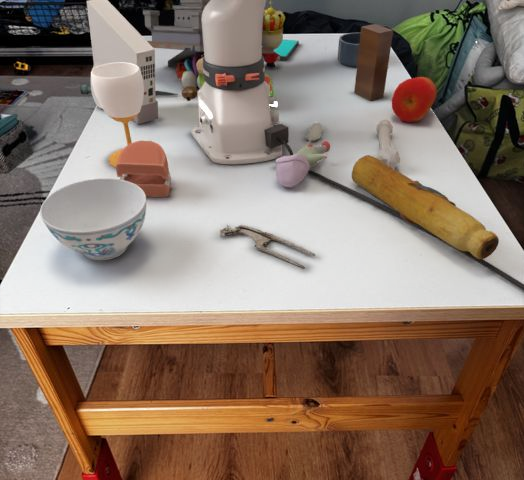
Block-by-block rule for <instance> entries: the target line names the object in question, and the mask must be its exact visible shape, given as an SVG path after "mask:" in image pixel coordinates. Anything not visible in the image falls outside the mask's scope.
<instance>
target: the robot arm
mask: <svg viewBox="0 0 524 480" xmlns="http://www.w3.org/2000/svg"><path fill="white" fill-rule="evenodd" d="M266 4H267V0H211V1H209V2H208V4H207V5H206V6H205V8H204V10H203V13H202V18H201V20H202V33H203V45H204V55H203V57H202V58H203V65H202V69H203V75H204V80H205V82H204V84H203V86H202V87H201V88H199V89H198V90H199V91H198V90H197V91H198V95H197V105H198V107H197V108H198V120H199V121H198V122H199V125H196V126H195V127H193V128H191V136H192V137H193V139H194V140H195V141H196V142H197V144H198V145H199V147H201V149H202V150H203V152H204V153H205V154H206V155H207V157H208V158H209V159H210V161H211V162H213V163H215V164H220V165H246V164H255V163H262V162H268V161H272V160H276V159H277V158H280V157H283V146H284V147H285V149H286V150H287V152H288V156H291V155H294V152H293V150H292V148H291V146H290V145H289V144H288V143H289V141H290V140H289V136H290V127H289V126H287V125H285V124H283V123H281V122H280V116H279V115H280V112H279V110H278V109H271V107H275V108H277V107H278V101H275V96H274V97H270V85H269V84H268V83H266V82H265V81H264V80H265V73H266V63H265V58H264V57H263V56H262V24H263V14H264V10H265V7H266ZM307 175H310V176H312V177H315V178H318V179H319V180H321V181H323V182H326V183H327V184H329V185H332V186H334V187H336V188H338V189H341V190H342V191H345V192H346V193H348V194H350V195H353V196H355V197H356V198H359V199H361V200H363V201H365V202H367V203H369V204H371V205H373V206H374V207H377V208H379V209H381V210H384V212H387V213H388V214H390V215H392V216H394V217H396V218H398V219H400V220H402V221H404V220H403V219H402V217H401V216H400V212H399V211H397V210H396V209H394V208H392V207H390V206H386V205H385V204H382V203H381V202H379V201H377V200H374V199H373V198H371V197H369V196H366V195H364V194H362V193H360V192H359V191H357V190H354V189H352V188H350V187H348V186H346V185H343V184H342V183H339V182H337V181H335V180H333V179H330V178H329V177H327V176H324V175H323V174H320V173H318V172H316V171H313V170H310V169H309V171H308V173H307ZM413 225H414V226H413ZM413 225H412V226H413V227H416V229H419V230H421V231H423V232H425V233H426V234H428V235H430V236H432V237H433V238H436V239H437V240H439V241H441V242H442V243H444V244H447V246H449V247H451V248H453V249H455V250H456V251H457V252H460V253H462V254H463V255H465V256H466V257H468V258H470V259H471V260H472V261H475V262H477V263H478V264H480V265H481V266H483V267H485V268H487V269H488V270H490V271H492V272H493V273H494V274H496V275H498V276H500V277H501V278H503V279H505V280H506V281H508V282H509V283H511V284H513V285H514V286H515V287H517V288H519V290H522V291H524V283H522V281H519V280H518V279H516V278H515V277H513V276H512V275H509V274H508V273H506V271H503V270H502V269H500V268H498V267H496V266H495V265H493V264H491V263H490V262H488V261H487V260H485V259H478V258H476V257H474V256H473V255H472V254H471V253H470V252H469V251H461V250H459V249H457V248H455V247H453V246H451V245H450V244H448V243H447V242H445V241H444V240H442V239H440V238H439V237H437V236H436V235H434V234H433V233H431V232H430V231H428V230H426V229H425V228H423V227H422V226H420V225H419V224H417V223H414V224H413Z"/></svg>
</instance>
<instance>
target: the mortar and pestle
mask: <svg viewBox="0 0 524 480" xmlns="http://www.w3.org/2000/svg"><path fill="white" fill-rule="evenodd" d="M198 91H199V89H197V87H196V88H195V87H194V86H187V87H183V88H182V89H181V91H180V93H181V96H182V98H183V99H185V100H186V101H187V102H191V100H194V99H195V98H198Z"/></svg>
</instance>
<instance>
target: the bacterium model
mask: <svg viewBox="0 0 524 480" xmlns="http://www.w3.org/2000/svg"><path fill="white" fill-rule="evenodd" d="M324 128H326V126H324V124H323V125H322V124H321V123H319V122H315V123H312V124H311V125H309V126H308V130H307V129H304V132H301V133H300V134H303V135H305V139H307V140H308V141H307V143H306V145H305V147H306V146H307V145H308V144H311V142H315V141H317V140H319V139H320V138H321V137H324V136H325V135H324V134H323V132H324Z"/></svg>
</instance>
